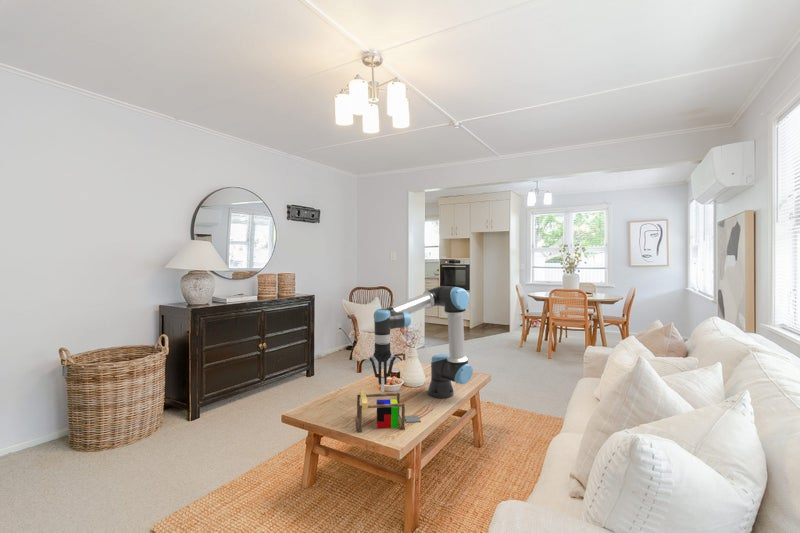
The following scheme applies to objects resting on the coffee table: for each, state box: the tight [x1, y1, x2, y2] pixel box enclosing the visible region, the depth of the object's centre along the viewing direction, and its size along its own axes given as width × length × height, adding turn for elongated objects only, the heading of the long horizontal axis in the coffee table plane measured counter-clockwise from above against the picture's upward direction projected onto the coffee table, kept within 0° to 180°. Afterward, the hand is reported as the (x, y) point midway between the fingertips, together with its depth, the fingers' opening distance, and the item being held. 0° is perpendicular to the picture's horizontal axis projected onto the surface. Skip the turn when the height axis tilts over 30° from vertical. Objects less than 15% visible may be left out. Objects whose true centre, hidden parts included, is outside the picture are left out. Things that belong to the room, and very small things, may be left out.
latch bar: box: [359, 389, 369, 411], centre depth 183 cm, size 2×17×3 cm, turn 10°
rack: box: [355, 392, 406, 433], centre depth 184 cm, size 22×15×12 cm
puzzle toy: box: [376, 398, 400, 429], centre depth 185 cm, size 10×10×10 cm
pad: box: [404, 414, 422, 424], centre depth 190 cm, size 7×7×1 cm
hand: (382, 390), depth 185 cm, fingers closed
